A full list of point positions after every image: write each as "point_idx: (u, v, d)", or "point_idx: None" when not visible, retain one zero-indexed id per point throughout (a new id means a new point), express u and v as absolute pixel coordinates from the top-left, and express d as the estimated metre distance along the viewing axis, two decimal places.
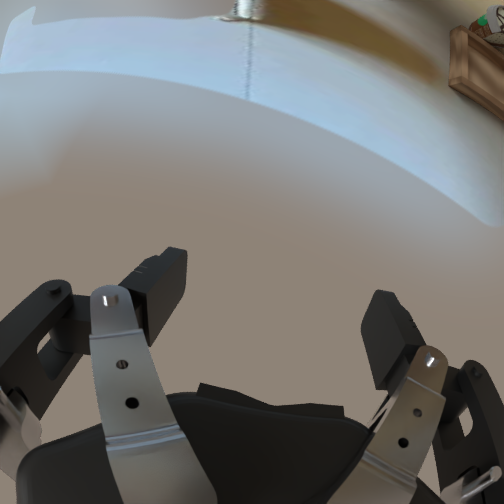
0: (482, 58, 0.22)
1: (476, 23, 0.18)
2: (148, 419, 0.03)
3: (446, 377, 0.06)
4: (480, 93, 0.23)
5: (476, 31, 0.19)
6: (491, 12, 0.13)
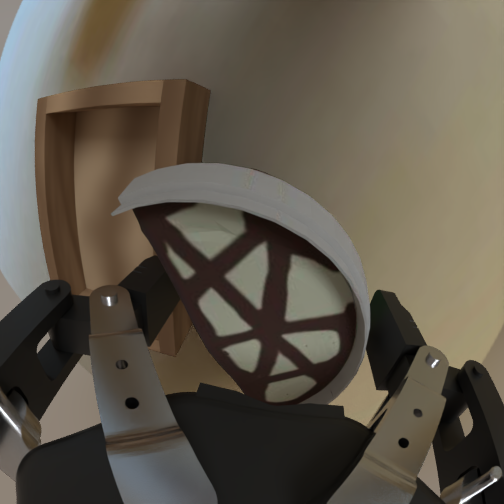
0: None
1: None
2: (147, 420, 0.03)
3: (446, 377, 0.06)
4: (36, 156, 0.13)
5: None
6: (254, 187, 0.07)
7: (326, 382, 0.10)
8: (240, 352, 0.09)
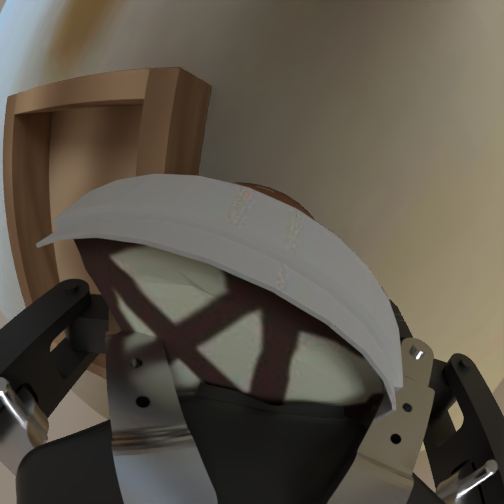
0: None
1: (274, 198, 0.10)
2: (157, 419, 0.03)
3: (432, 370, 0.06)
4: (4, 165, 0.10)
5: None
6: (245, 220, 0.04)
7: None
8: None
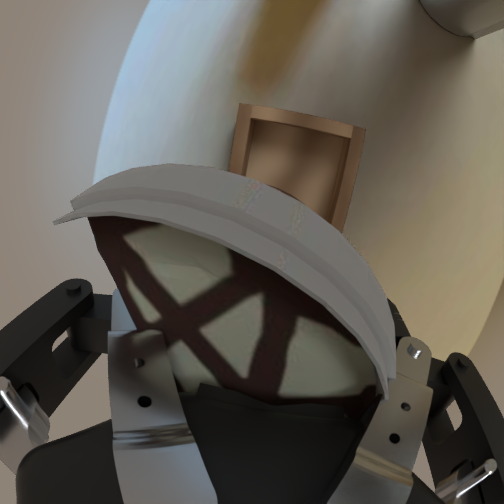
0: (324, 189, 0.27)
1: None
2: (159, 419, 0.03)
3: (430, 369, 0.06)
4: (234, 146, 0.23)
5: None
6: (251, 207, 0.04)
7: None
8: None
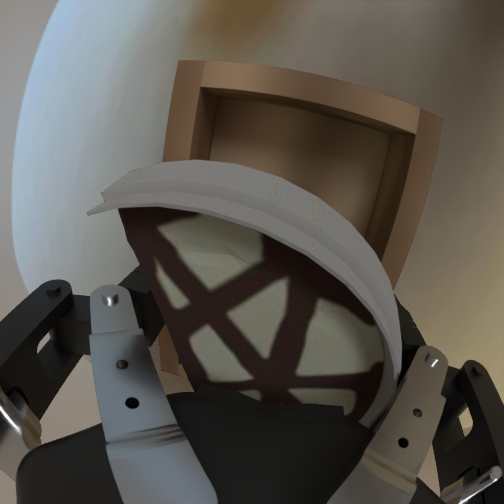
0: None
1: None
2: (148, 420, 0.03)
3: (446, 377, 0.06)
4: (167, 151, 0.11)
5: None
6: (282, 201, 0.05)
7: None
8: None
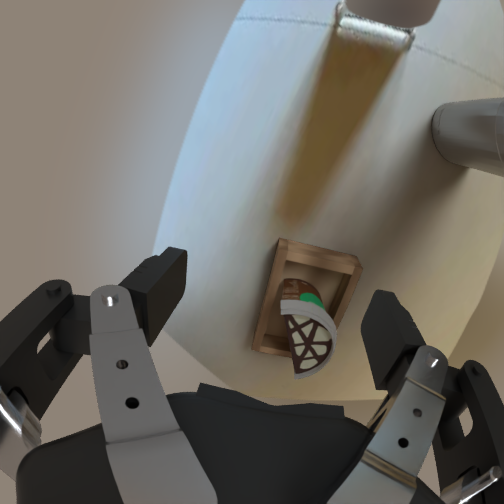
0: (329, 296, 0.39)
1: (309, 291, 0.36)
2: (148, 420, 0.03)
3: (446, 377, 0.06)
4: (272, 277, 0.36)
5: (296, 286, 0.36)
6: (313, 311, 0.30)
7: (320, 362, 0.33)
8: (298, 348, 0.32)
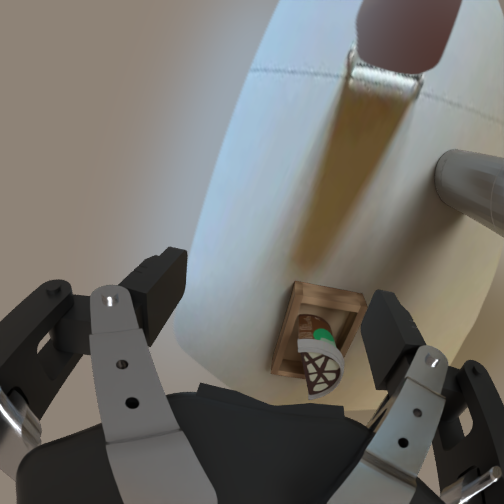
0: (338, 327, 0.44)
1: (321, 326, 0.40)
2: (148, 420, 0.03)
3: (446, 377, 0.06)
4: (289, 316, 0.40)
5: (310, 323, 0.41)
6: (325, 348, 0.35)
7: (330, 386, 0.37)
8: (312, 376, 0.37)
